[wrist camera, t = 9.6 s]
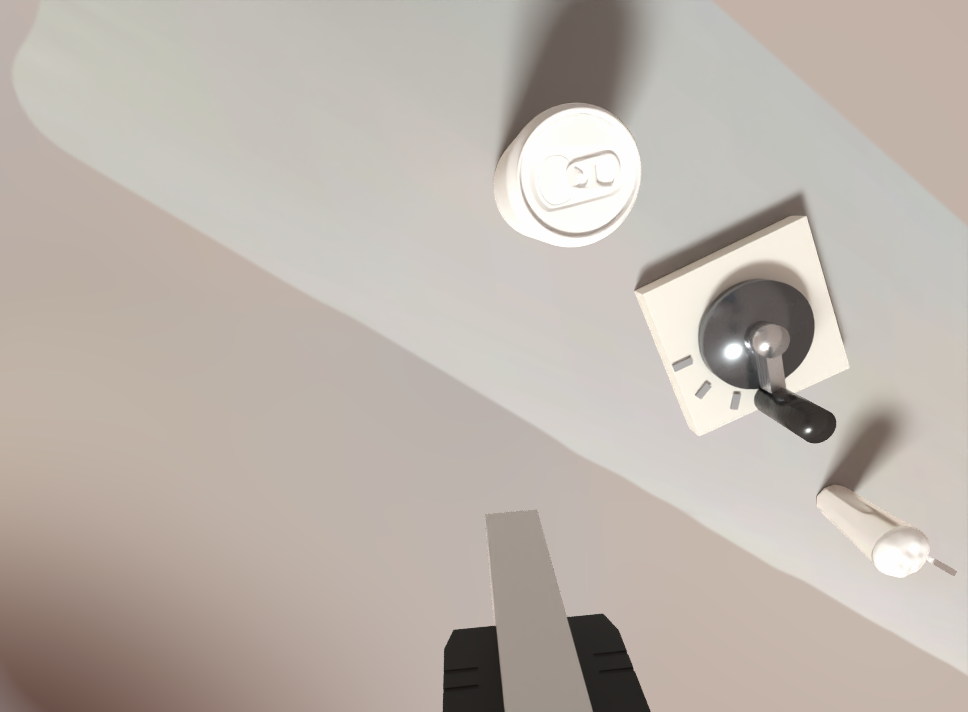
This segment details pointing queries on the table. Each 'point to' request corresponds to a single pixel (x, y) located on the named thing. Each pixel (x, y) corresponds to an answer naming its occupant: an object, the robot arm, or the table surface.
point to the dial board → (694, 287)
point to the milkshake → (877, 532)
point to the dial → (764, 350)
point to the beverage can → (569, 176)
